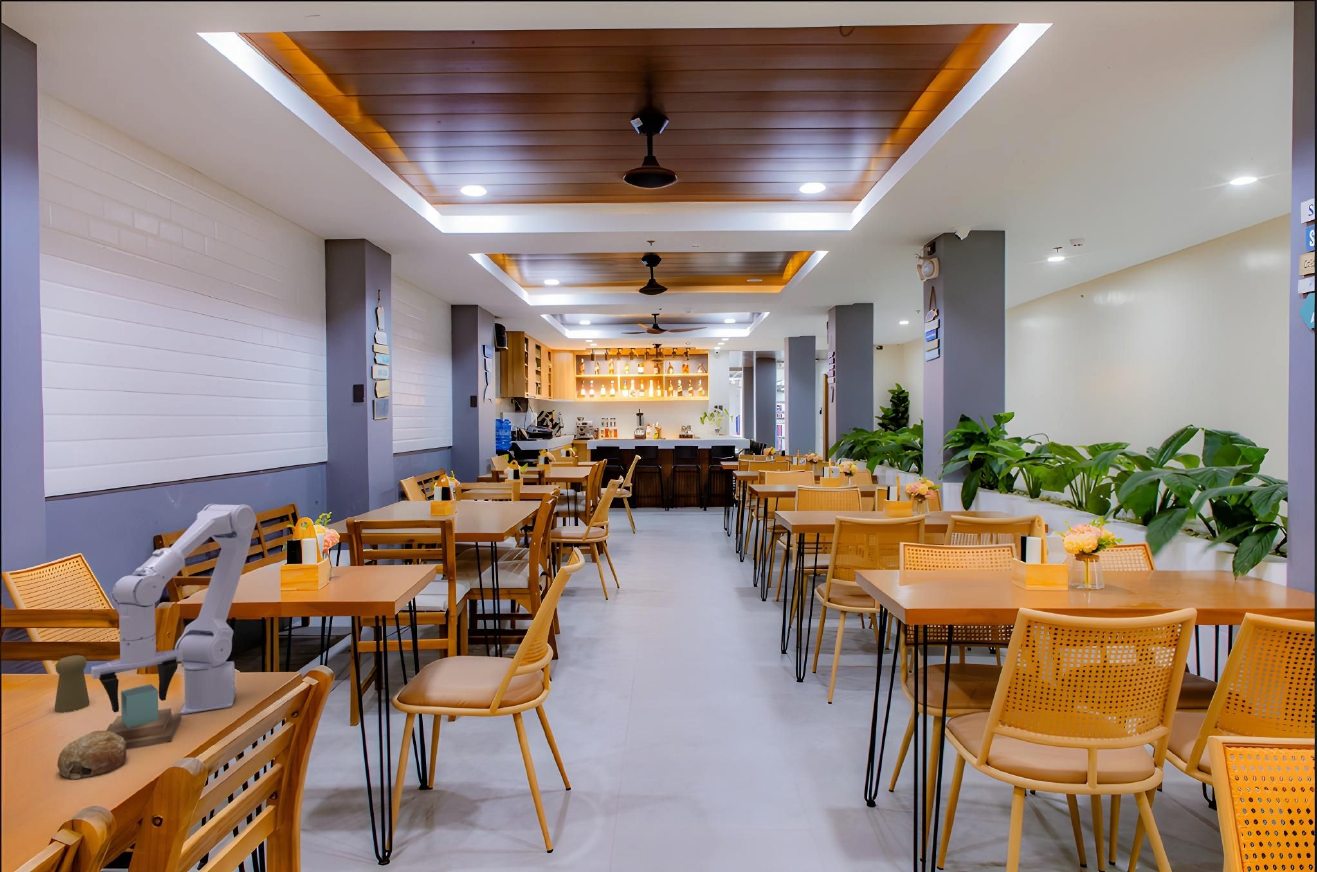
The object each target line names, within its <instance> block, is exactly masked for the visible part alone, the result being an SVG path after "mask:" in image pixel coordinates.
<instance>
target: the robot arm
mask: <svg viewBox="0 0 1317 872" xmlns="http://www.w3.org/2000/svg"><path fill="white" fill-rule="evenodd" d="M257 521H258V519H257V516H256V513H255V512H254V510H253V508H252V507H251V506H250V505H249V504H243V503H242V504H217V503H209V504H207V505H205V506H204V507H203V509H202V510H200V511H199V512H198V513H196V519H195V521H194V522H193V523H192V524H191V525H190V526H189V527H188V528H187V529H186V531H184V533H183V534H182V535H180V537H178V539H177V540H176V541H175V542H174V543H173V544H172V545H171V546H170V547H163V548H162V547H161V548H160V549H155V550H154V551H153V552H152V555H151V557H150V558H148V559H147V560H146V561H145V562H144V563H143V564H142V565H140V566H139V567H136V569H135V570H134V572H133V573H132V574H131V575H129V574H128V575H125V576H123V577H120V579H119V580H117V581H116V583H115V584H114V585H113V587H112V592H110V593H109V596H110V599H111V601H112V603H114V604H115V606H116V612H117V614H118V619H119V621H118V622H119V623H118V624H119V625H118V626H119V628H118V629H119V649H120V650H119V658H120V659H116V660H113V661H110V662H109V661H108V662H106V663H103V664H99V665H94V666H91V667H90V668H91V671H90V672H91V673H90V674H91V675H90V676H91V678H92V679H93V680H97V679H98V680H99V681H100V683H101V685H102V686H103V688H104V689H105V691H106V694H107V697H108V698H109V702H110V705H111V711H112V712H113V713H117V712H120V703H119V682H120V680H119V678H117V674H121V673H124V672H128V671H135V670H139V669H143V668H149V667H152V666H153V667H154V666H157V673H158V700H159V699H160V701H162V702H164V701H166V700H167V694H168V691H169V687H170V684H171V682H172V680H173V677H174V675H175V673H176V671H177V670H178V666H179V664H178V663H177V662H180V663H181V667H183V673H184V674H183V677H184V703H183V705H182V707H181V710H180V712H179V713H181V715H185V714H191V713H192V714H193V713H200V712H204V711H211V710H217V709H223V708H231V707H233V705H234V700H235V697H236V694H237V687H236V677H235V676H236V674H235V673H236V672H235V661H227V660H228V659H229V657H230V655H231V652H232V650H233V649H232V647H233V635H234V630H233V629H232V627H230V625H229V624H228V623H227V619H228V616H229V612H230V610H231V606H232V604H233V600H234V598H235V594H236V591H237V589H238V588H237V587H238V585H239V582H240V578H241V576H242V574H243V573H242V572H243V570H244V566H245V563H246V561H247V557H248V553H249V550H250V548H251V539H252V536H253V533H254V530H255V528H256V524H257ZM209 538H212V539H213V540H214V542H216V543H218V545H219V547H220V548H221V549H220V551H219V554H218V557H217V561H216V563H215V566H214V569H213V572H212V575H211V578H210V582H209V583H208V588H207V589H206V590H207V591H206V594H205V595H204V599H203V602H202V604H201V608H200V611H199V613H198V617H197V618H196V619H195V620H193V621H191V622H190V623H189V624H187V625H186V626H185V627H184V630H183V633H182V634H181V636H180V637H179V638H178V640H177V641H176V643H175V646H174V649H172V650H164V651H158V652H157V648H156V647H157V645H156V644H157V643H156V642H157V637H156V608H155V607H156V604H155V603H156V602H158V601H160V599H161V597H162V594H163V591H164V589H165V587H166V585H167V583H168V582H169V581H171V579H172V578H174V577H175V575H176V574H177V573H179V572H180V571H181V570H182V569H183V568H184V567H185V564H186V563H185V562H186V561H185V560H186V559H185V558H186V557H188V556H189V555H190V554H191V553H193V552H194V551H195V550H196V549H197V548H199V547H200V546H201V545H202V544H203V543H205V542H206V541H207V540H208V539H209Z"/></svg>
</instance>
